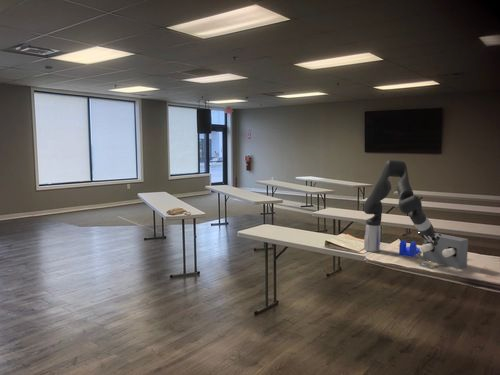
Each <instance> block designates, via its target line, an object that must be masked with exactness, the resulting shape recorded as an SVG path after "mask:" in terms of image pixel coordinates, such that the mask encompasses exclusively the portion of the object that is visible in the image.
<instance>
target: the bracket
mask: <svg viewBox="0 0 500 375" xmlns="http://www.w3.org/2000/svg"><path fill="white" fill-rule="evenodd" d="M398 247H399V249H398V251H399V254H398V255H399V256H403V255H404V257H409V256H410V257H409V258H414V257H415V256H417V255H418V254H419V253H420V251H421V248H419V247H418V246H417V242H416V241H411V242H410V244H409V246H407V240H404V239H401V240H400V242H399V246H398ZM416 254H417V255H416Z"/></svg>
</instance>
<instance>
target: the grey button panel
mask: <svg viewBox="0 0 500 375" xmlns="http://www.w3.org/2000/svg"><path fill="white" fill-rule="evenodd" d="M436 234H438V235H439V234H441V237H440V239H439V240H438V241H437V242H438V244H437V245H436V246H434V250H430V251H427V252H423V251H422V260H423V261H425V262H429V261H431V262H430V263H433V262H434V264H437V263H438V265H442V266H445V267H449V268H453V269H457V270H462V269H464V268H467V265H468V250H469V248H468V247H469V239H468V238H464V237H460V236H453V235H448V234H443V233H438V232H436ZM435 238H436V236H435ZM429 243H431V242H430V241H429V240H425V239H424V238H423V243H422V245H424V244H429ZM450 248H456V249H457V251H456V255H452V256H449V257H444V256H443V255H442V251H443V250H445V249H450Z"/></svg>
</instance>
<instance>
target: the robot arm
mask: <svg viewBox="0 0 500 375" xmlns="http://www.w3.org/2000/svg"><path fill="white" fill-rule="evenodd" d="M389 177H394V178H395V177H396V178H400V179H399V181H398V182H397V184H396V191H397V194H398V207H399V210H400V211H401V213H402V214H408V217H409V218H410V220H411V222H412V223H413V225H414V227H415V229H416V230H417V232H418V233H417V235H418V236H419V237H421V238H422V239H423V240H424V239H425V240H429V241H430V242H431V243H432V244H433V246H436V245H437V244H438V242H437V241H438V240H439V239H440V237H441V234H442V233H439V235H438V234H436V233H437V232H436V231H435V230H434V226H433V224H432V222H431V221H430V220H429V218H428V217H427V215H426V214H425V212H424V210H423V205H422V200H421V198H420V197H419V196H417V195H416V194H415V193H414V191H413V189H412V186H411V184H410V180H409V172H408V168H407V163H406V162H405V161H403V160H397V159H396V160H394V159H388V160H386V162H385V163H384V167H383V169H382V171H381V173H380V176H379V177H378V180H377V182H376V183H375V185H374V187H373V189H372V192H371V193H370V195H369V196H368V197H367V199H366V200H365V201H364V204H363V212H364V213H365V215H373V216H372V217H370V218H367V219H366V220H365V234H364V236H363V237H364V242H363V245H364V246H363V249H364V250H365V251H366V252H370V253H371V252H372V253H373V252H374V253H375V252H376V253H377V252H380V250H381V229H382V228H381V227H382V226H381V225H382V216H383V215H382V214H383V203H382V201H383V200H384V199H385V198H387V197H388V196H389V194H390V192H391V191H392V184H391V181H390V179H389ZM414 194H415V195H414ZM435 236H436V238H435Z"/></svg>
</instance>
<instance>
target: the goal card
mask: <svg viewBox="0 0 500 375" xmlns="http://www.w3.org/2000/svg"><path fill="white" fill-rule="evenodd" d="M418 266H419V267H423V268H426V267H427V269H430V270H432V269H435V268H438V265H434V264H429V263H427V262H422V263H420V264H418Z"/></svg>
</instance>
